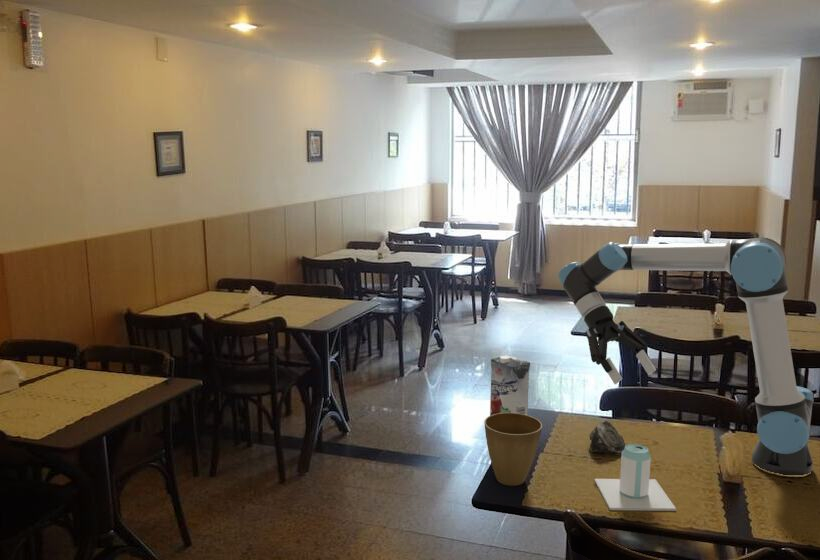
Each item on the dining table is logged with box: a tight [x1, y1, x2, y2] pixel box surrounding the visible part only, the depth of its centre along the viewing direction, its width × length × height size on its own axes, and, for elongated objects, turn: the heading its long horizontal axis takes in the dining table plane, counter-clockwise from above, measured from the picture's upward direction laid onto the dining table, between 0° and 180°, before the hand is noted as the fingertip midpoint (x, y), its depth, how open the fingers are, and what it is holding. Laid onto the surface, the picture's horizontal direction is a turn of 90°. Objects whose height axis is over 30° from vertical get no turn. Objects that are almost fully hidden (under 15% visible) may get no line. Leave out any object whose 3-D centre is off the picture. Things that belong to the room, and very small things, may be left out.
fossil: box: [589, 420, 626, 456], centre depth 220 cm, size 11×9×10 cm
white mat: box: [594, 478, 677, 512], centre depth 192 cm, size 16×16×1 cm
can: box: [619, 443, 652, 498], centre depth 191 cm, size 7×7×12 cm
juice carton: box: [489, 354, 531, 416], centre depth 221 cm, size 9×10×27 cm
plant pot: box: [483, 413, 543, 487], centre depth 199 cm, size 15×15×16 cm
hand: (635, 377), depth 202 cm, fingers open, 13 cm apart
